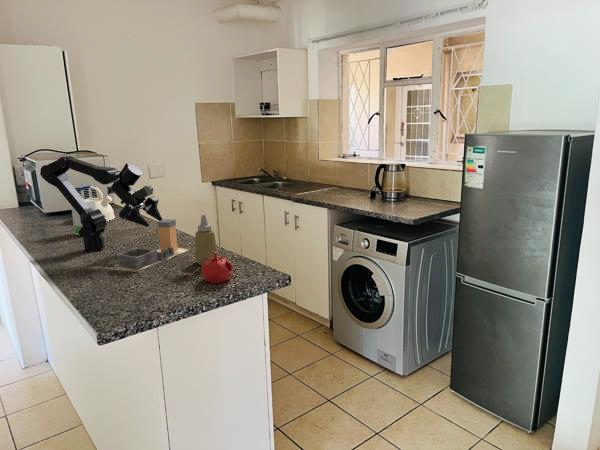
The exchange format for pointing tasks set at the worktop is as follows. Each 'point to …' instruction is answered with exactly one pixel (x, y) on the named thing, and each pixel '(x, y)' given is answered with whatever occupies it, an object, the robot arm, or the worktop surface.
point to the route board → (144, 258)
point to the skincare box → (76, 216)
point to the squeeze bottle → (204, 242)
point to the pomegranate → (217, 269)
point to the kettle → (101, 203)
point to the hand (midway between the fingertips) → (155, 223)
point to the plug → (167, 234)
